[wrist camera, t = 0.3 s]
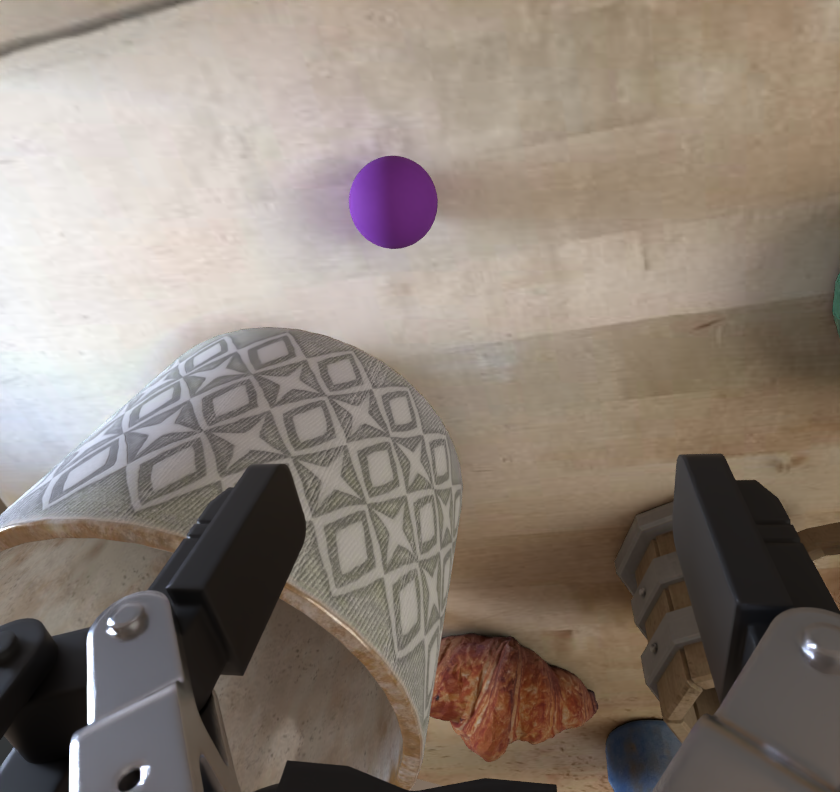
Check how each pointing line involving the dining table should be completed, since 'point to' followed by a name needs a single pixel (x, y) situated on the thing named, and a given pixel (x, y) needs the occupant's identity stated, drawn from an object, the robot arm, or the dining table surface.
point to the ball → (393, 202)
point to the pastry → (504, 694)
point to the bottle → (639, 754)
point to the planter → (318, 559)
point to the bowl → (837, 304)
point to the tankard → (679, 615)
